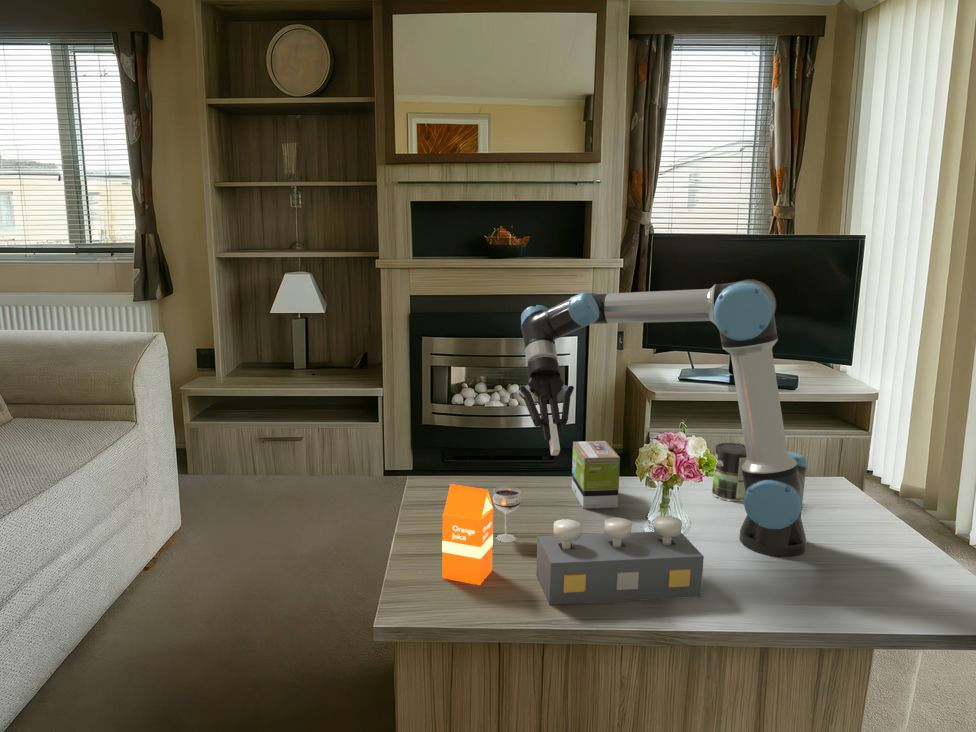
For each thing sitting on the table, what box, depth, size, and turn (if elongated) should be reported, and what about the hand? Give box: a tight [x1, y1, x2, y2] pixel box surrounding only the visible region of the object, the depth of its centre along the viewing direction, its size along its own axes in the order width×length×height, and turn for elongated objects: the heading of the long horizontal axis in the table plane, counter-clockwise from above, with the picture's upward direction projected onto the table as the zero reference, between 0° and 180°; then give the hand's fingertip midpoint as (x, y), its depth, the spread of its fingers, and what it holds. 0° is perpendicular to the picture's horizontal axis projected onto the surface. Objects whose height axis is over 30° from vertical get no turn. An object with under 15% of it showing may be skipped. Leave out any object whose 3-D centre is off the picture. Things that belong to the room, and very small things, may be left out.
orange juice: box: [441, 483, 494, 586], centre depth 163 cm, size 8×9×20 cm
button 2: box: [653, 515, 683, 545], centre depth 161 cm, size 6×6×7 cm
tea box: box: [571, 440, 621, 510], centre depth 209 cm, size 15×10×15 cm
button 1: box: [552, 518, 582, 549], centre depth 158 cm, size 6×6×7 cm
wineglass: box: [492, 485, 522, 543], centre depth 182 cm, size 7×7×12 cm
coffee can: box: [711, 442, 747, 502], centre depth 214 cm, size 10×10×14 cm
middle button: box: [603, 516, 633, 547], centre depth 160 cm, size 6×6×7 cm
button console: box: [535, 531, 705, 606], centre depth 160 cm, size 32×13×9 cm, turn 98°
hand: (555, 452), depth 167 cm, fingers closed
